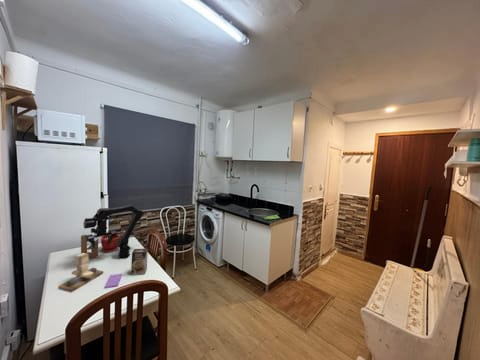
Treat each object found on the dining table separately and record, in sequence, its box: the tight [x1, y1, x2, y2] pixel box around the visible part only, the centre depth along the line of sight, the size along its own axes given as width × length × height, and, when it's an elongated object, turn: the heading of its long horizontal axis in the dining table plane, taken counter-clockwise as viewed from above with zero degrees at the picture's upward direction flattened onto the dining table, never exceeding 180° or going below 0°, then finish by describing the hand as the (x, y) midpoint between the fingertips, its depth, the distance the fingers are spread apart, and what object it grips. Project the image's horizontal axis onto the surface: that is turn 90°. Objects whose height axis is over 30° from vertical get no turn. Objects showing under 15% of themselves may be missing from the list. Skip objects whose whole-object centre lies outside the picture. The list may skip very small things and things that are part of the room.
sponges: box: [104, 272, 123, 289], centre depth 122 cm, size 7×13×2 cm, turn 22°
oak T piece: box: [71, 253, 93, 278], centre depth 120 cm, size 12×4×13 cm, turn 78°
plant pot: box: [100, 234, 121, 253], centre depth 162 cm, size 13×13×12 cm
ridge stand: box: [58, 267, 104, 293], centre depth 121 cm, size 20×10×4 cm, turn 168°
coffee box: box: [130, 248, 149, 276], centre depth 133 cm, size 9×6×16 cm
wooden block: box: [80, 234, 99, 259], centre depth 148 cm, size 4×11×18 cm, turn 109°
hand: (101, 246), depth 140 cm, fingers open, 9 cm apart
